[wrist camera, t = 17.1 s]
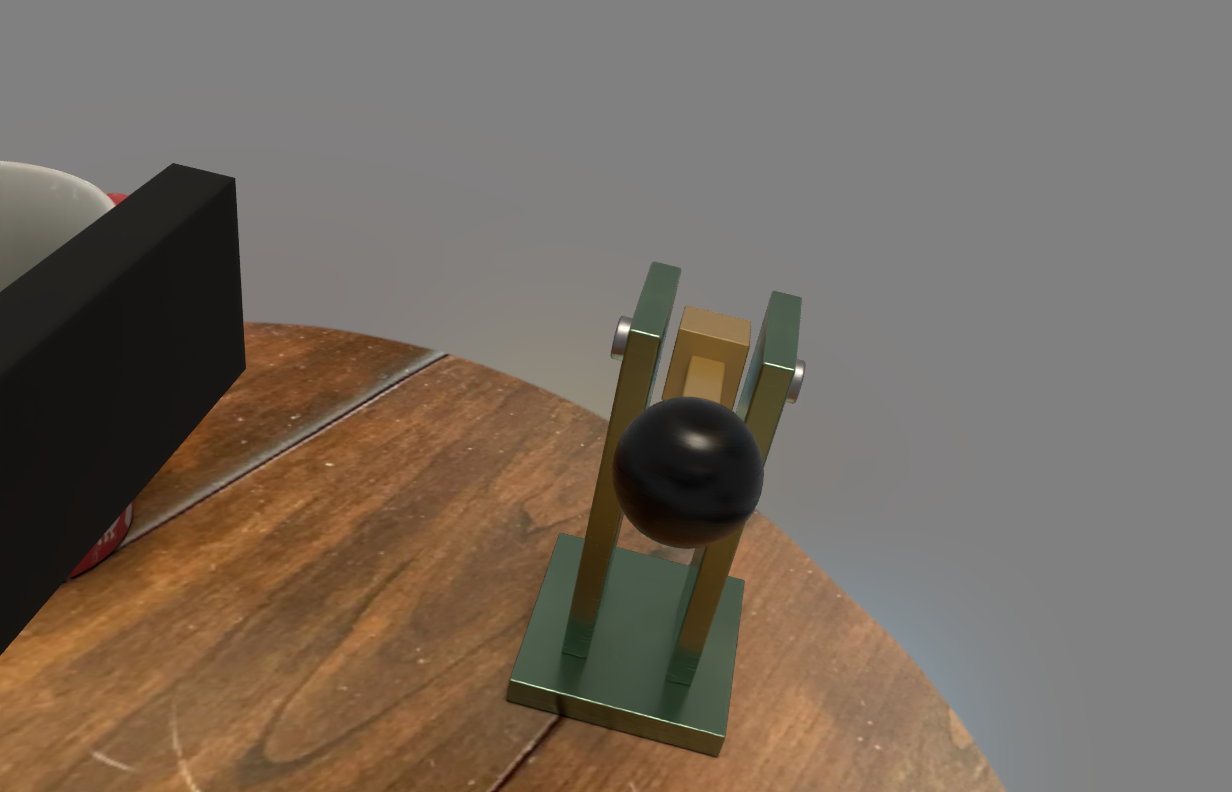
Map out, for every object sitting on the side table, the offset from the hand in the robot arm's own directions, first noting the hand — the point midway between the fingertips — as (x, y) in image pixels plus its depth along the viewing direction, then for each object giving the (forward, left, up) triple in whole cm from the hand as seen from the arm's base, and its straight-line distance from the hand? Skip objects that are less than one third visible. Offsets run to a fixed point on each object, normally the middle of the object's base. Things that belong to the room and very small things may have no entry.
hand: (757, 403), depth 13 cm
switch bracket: (+14, -11, -25) cm, 31 cm away
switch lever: (+10, -8, -12) cm, 17 cm away
